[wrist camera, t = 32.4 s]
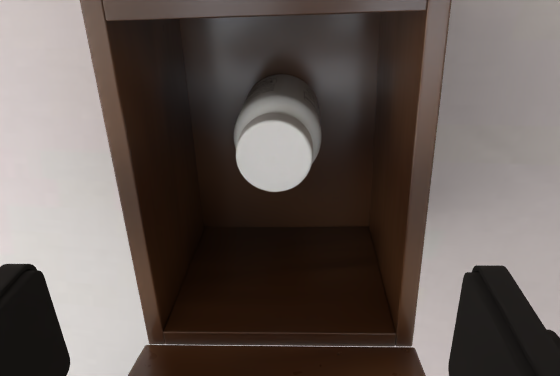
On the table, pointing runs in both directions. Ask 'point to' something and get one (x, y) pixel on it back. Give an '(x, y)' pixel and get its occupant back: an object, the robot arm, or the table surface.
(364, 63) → the chest
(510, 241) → the table surface
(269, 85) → the pill bottle
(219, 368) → the lid
